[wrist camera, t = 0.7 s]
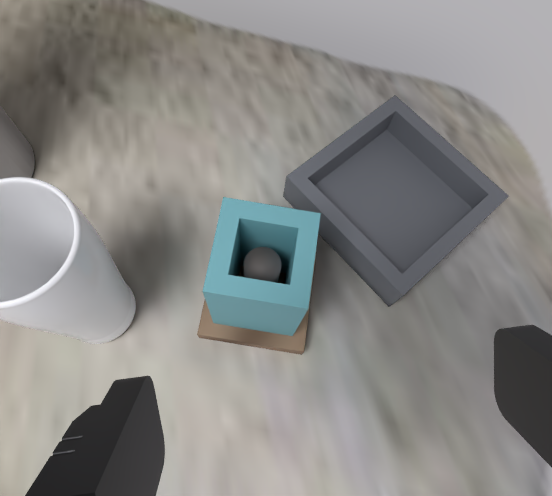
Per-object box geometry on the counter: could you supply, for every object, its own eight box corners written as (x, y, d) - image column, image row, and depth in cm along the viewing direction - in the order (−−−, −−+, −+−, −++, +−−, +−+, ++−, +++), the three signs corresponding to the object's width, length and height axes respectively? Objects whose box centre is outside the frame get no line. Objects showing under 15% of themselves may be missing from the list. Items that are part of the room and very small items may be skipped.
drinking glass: (93, 254, 36) (-3, 151, 22) (164, 294, 35) (111, 213, 21) (38, 327, 34) (-108, 264, 20) (112, 371, 33) (15, 338, 19)
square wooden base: (199, 337, 34) (186, 315, 27) (219, 242, 37) (213, 198, 30) (301, 354, 34) (317, 336, 27) (313, 258, 37) (331, 218, 30)
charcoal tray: (283, 196, 39) (286, 176, 36) (383, 119, 43) (395, 95, 40) (388, 306, 36) (403, 295, 33) (487, 214, 40) (508, 196, 37)
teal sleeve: (213, 323, 33) (202, 291, 25) (232, 232, 36) (227, 175, 28) (292, 336, 33) (308, 308, 25) (305, 244, 36) (323, 191, 28)
